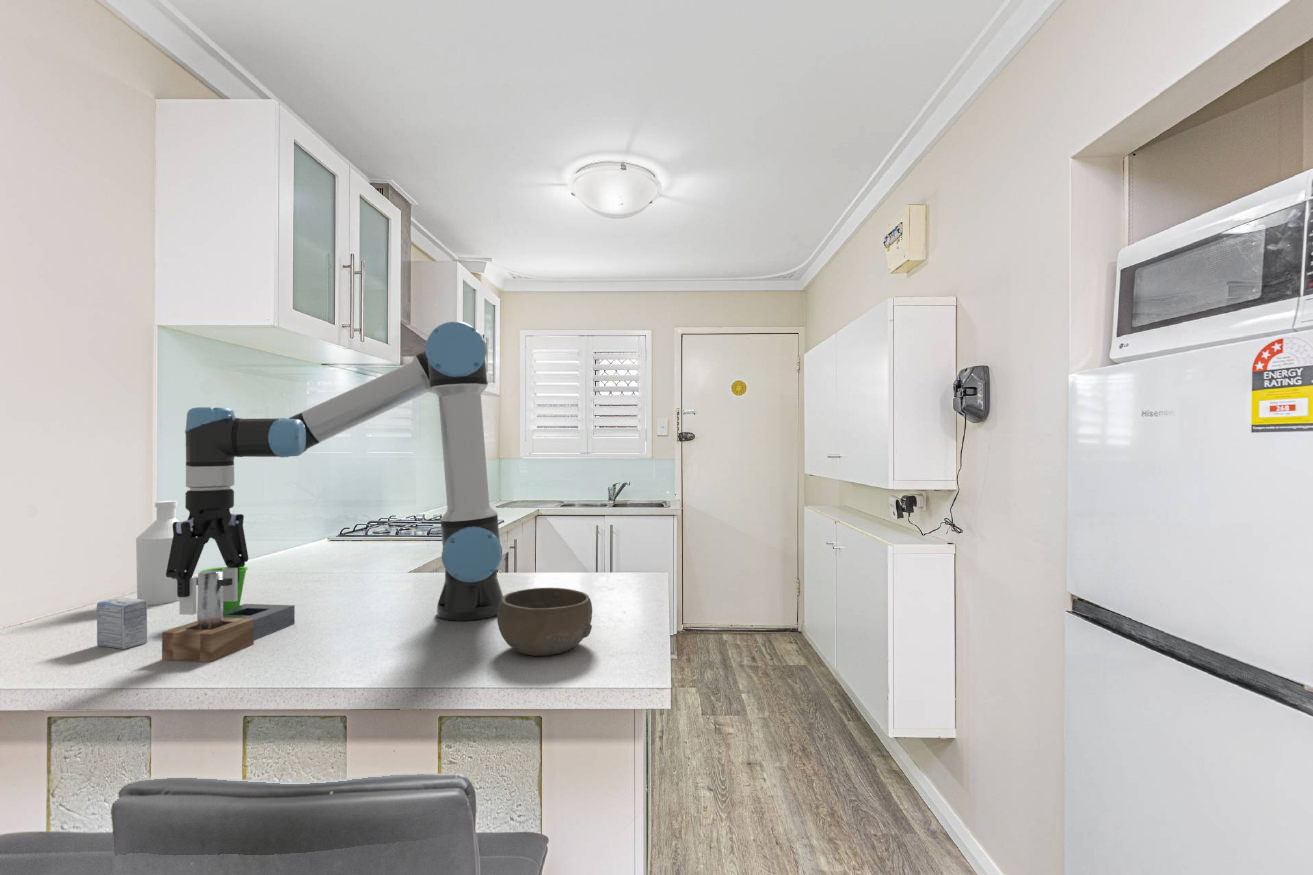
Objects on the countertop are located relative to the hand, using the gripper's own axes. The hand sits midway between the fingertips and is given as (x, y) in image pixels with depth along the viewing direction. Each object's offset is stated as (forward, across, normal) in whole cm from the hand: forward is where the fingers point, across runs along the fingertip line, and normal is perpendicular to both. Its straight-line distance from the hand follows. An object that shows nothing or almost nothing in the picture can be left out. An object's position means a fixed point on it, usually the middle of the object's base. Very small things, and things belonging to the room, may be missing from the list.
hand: (209, 607), depth 118 cm
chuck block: (+8, -13, -3) cm, 16 cm away
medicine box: (+9, -2, -21) cm, 23 cm away
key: (+8, 0, 0) cm, 8 cm away
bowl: (+9, -9, +63) cm, 64 cm away
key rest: (+8, 0, 0) cm, 8 cm away
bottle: (+9, -36, -46) cm, 59 cm away
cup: (+9, -21, -16) cm, 28 cm away
